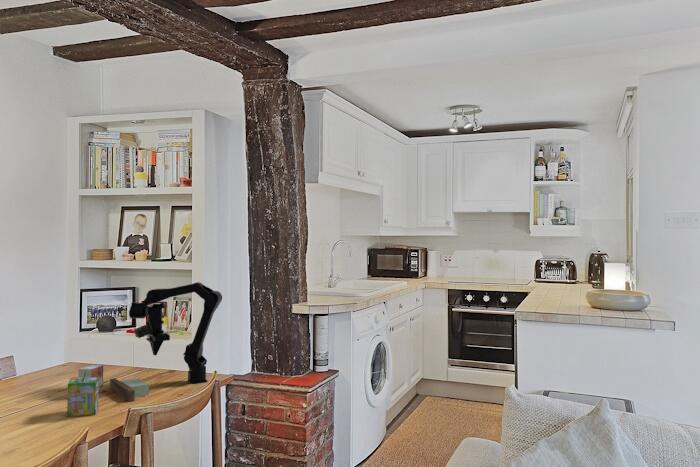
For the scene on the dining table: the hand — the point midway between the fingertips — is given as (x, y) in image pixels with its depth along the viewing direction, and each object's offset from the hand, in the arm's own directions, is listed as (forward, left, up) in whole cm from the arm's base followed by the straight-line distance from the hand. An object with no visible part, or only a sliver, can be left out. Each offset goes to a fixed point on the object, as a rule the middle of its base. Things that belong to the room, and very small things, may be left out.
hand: (154, 355), depth 251 cm
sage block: (+13, +15, -11) cm, 23 cm away
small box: (+27, +5, -11) cm, 30 cm away
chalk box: (+36, +30, -11) cm, 48 cm away
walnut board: (+18, +14, -11) cm, 25 cm away
